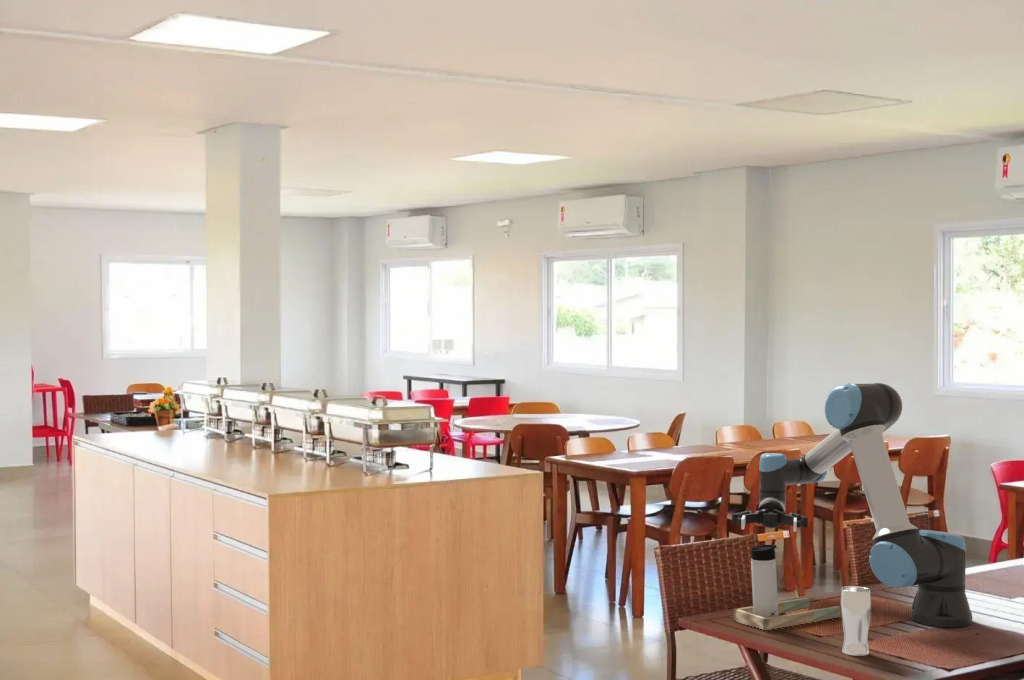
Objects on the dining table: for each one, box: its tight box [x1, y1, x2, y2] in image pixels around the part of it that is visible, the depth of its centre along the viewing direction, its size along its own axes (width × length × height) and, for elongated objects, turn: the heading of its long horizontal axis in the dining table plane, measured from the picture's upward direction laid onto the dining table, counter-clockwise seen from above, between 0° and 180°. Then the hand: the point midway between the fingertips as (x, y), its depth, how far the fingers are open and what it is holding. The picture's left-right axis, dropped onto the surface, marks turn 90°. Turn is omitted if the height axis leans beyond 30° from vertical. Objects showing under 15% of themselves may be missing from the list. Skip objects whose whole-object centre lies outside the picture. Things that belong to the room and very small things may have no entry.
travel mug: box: [750, 544, 779, 618], centre depth 300 cm, size 6×7×20 cm
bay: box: [733, 597, 841, 631], centre depth 303 cm, size 12×26×3 cm, turn 120°
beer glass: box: [839, 585, 872, 657], centre depth 273 cm, size 7×7×15 cm
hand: (768, 525), depth 309 cm, fingers open, 13 cm apart
